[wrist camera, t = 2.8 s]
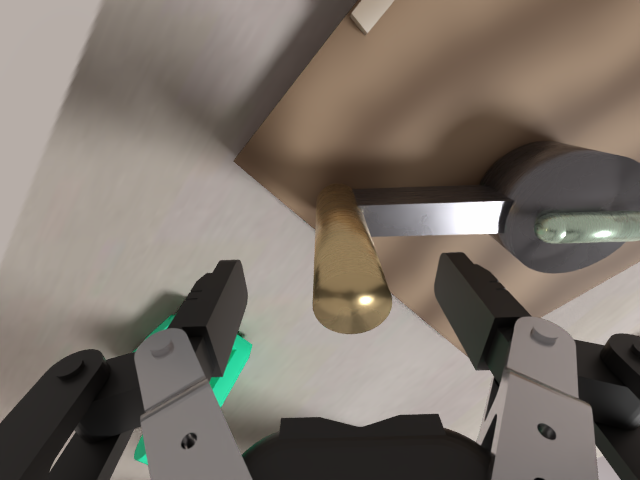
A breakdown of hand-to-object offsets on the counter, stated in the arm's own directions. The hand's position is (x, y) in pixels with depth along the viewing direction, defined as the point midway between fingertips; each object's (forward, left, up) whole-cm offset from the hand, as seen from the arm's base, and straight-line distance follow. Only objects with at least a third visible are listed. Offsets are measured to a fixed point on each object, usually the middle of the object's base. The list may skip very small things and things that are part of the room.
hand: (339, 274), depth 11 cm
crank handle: (-6, -6, -9) cm, 12 cm away
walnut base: (-8, -9, -11) cm, 16 cm away
